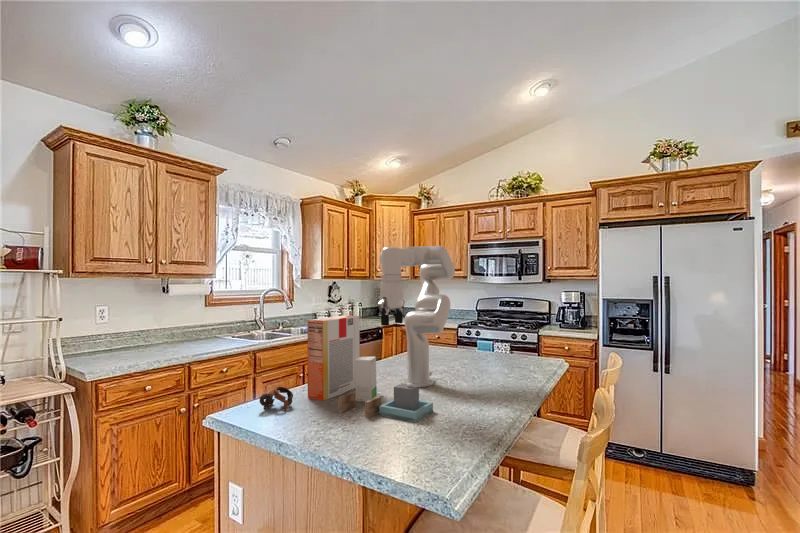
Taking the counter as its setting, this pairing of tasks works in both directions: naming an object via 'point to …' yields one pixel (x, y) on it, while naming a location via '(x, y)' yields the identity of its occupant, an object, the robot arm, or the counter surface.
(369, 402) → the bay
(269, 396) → the brown looped piece
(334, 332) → the cereal box
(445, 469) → the counter surface
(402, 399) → the grey rectangular block
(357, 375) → the skincare box
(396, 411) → the tray
